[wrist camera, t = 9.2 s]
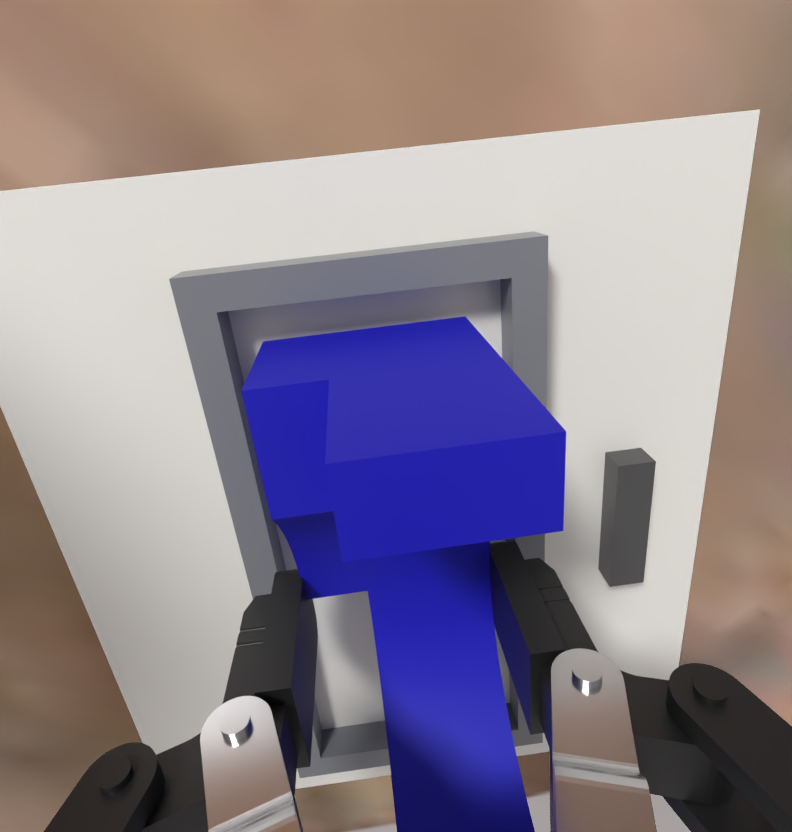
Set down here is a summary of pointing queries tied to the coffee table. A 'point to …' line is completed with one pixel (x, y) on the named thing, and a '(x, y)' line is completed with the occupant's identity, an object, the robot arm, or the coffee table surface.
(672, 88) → the coffee table surface
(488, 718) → the cable clip
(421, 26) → the coffee table surface
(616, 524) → the board
